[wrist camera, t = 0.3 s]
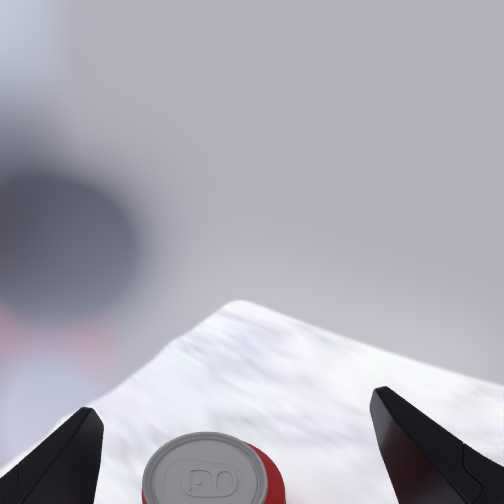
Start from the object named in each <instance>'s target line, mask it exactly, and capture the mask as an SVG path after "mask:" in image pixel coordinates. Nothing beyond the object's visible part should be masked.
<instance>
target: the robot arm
mask: <svg viewBox="0 0 504 504" xmlns="http://www.w3.org/2000/svg"><path fill="white" fill-rule="evenodd" d="M370 413H371V417H372V421H373V425H374V429H375V433H376V437H377V442H378V446H379V449H380V452H381V455H382V458H383V461H384V463H385V466H386V469H387V472H388V474H389V477H390V480H391V483H392V485H393V488H394V491H395V494H396V497H397V499H398V502H399V504H504V467H503V466H501V465H499V464H497V463H495V462H493V461H492V460H490V459H488V458H486V457H485V456H483V455H481V454H480V453H478V452H477V451H475V450H474V449H472V448H471V447H469V446H468V445H467V444H465V443H464V444H463V442H462V441H461V440H459V439H458V438H457V437H455V436H454V435H452V434H451V433H450V432H448V431H447V430H446V429H444V428H443V427H441V426H440V425H439V424H437V423H436V422H435V421H433V420H432V419H430V418H429V417H428V416H426V415H425V414H424V413H422V412H421V411H420V410H418V409H417V408H415V407H414V406H413V405H411V404H410V403H409V402H407V401H406V400H405V399H403V398H402V397H401V396H399V395H398V394H397V393H395V392H394V391H393V390H391V389H390V388H389V387H387V386H383V387H379V388H376V389H374V390H373V394H372V398H371V402H370ZM103 432H104V425H103V422H102V421H101V419H100V418H99V416H98V415H97V413H96V412H95V410H94V409H93V408H88V407H82V408H80V409H79V410H78V411H77V412H76V413H75V414H73V415H72V416H71V417H70V418H69V419H68V420H67V421H66V422H64V423H63V424H62V425H61V426H60V427H59V428H58V429H57V430H55V431H54V432H53V433H52V434H51V435H50V436H49V437H47V438H46V439H45V440H44V441H43V442H42V443H41V444H40V445H38V446H37V447H36V448H35V449H34V450H33V451H32V452H30V453H29V454H28V455H27V456H26V457H25V458H24V459H23V460H21V461H20V462H19V463H18V464H17V465H16V466H15V467H13V468H12V469H11V470H10V471H9V472H7V473H6V474H5V475H4V476H3V477H1V478H0V504H94V497H95V491H96V486H97V480H98V475H99V469H100V463H101V452H102V441H103Z"/></svg>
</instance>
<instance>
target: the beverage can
mask: <svg viewBox="0 0 504 504" xmlns="http://www.w3.org/2000/svg"><path fill="white" fill-rule="evenodd" d="M142 503H143V504H286V499H285V487H284V482H283V479H282V476H281V474H280V472H279V470H278V468H277V467H276V465H275V464H274V462H273V461H272V460H271V459H270V458H269V457H268V456H267V455H266V454H265V453H263V452H262V451H261V450H259V449H258V448H256V447H254V446H252V445H251V444H248V443H246V442H244V441H241V440H239V439H237V438H235V437H233V436H230V435H226V434H223V433H217V432H196V433H190V434H186V435H183V436H180V437H177V438H175V439H173V440H171V441H169V442H167V443H166V444H164V445H163V446H162V447H160V448H159V449H158V450H157V451H156V452H155V453H154V454H153V456H152V457H151V458H150V460H149V461H148V463H147V465H146V468H145V470H144V474H143V480H142Z"/></svg>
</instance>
